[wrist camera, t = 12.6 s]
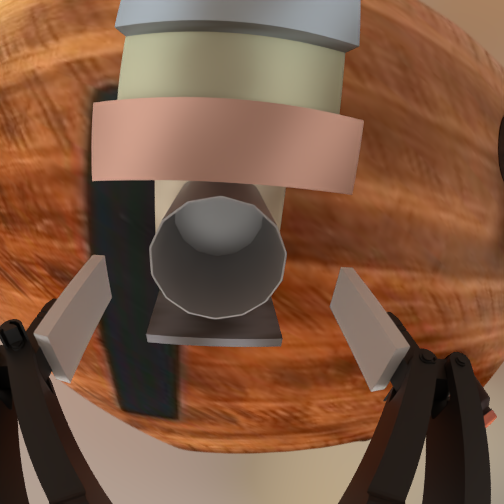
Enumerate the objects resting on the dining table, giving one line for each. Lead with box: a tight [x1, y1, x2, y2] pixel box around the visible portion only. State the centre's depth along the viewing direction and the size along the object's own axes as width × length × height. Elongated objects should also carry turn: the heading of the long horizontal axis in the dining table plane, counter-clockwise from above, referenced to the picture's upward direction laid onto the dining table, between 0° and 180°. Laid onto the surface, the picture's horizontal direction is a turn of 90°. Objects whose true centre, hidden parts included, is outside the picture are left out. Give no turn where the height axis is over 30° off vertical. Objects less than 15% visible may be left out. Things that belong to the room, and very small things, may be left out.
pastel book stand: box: [92, 0, 364, 347], centre depth 18 cm, size 12×24×17 cm, turn 174°
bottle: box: [444, 355, 497, 428], centre depth 38 cm, size 7×7×20 cm
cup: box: [149, 181, 287, 319], centre depth 21 cm, size 8×8×10 cm
